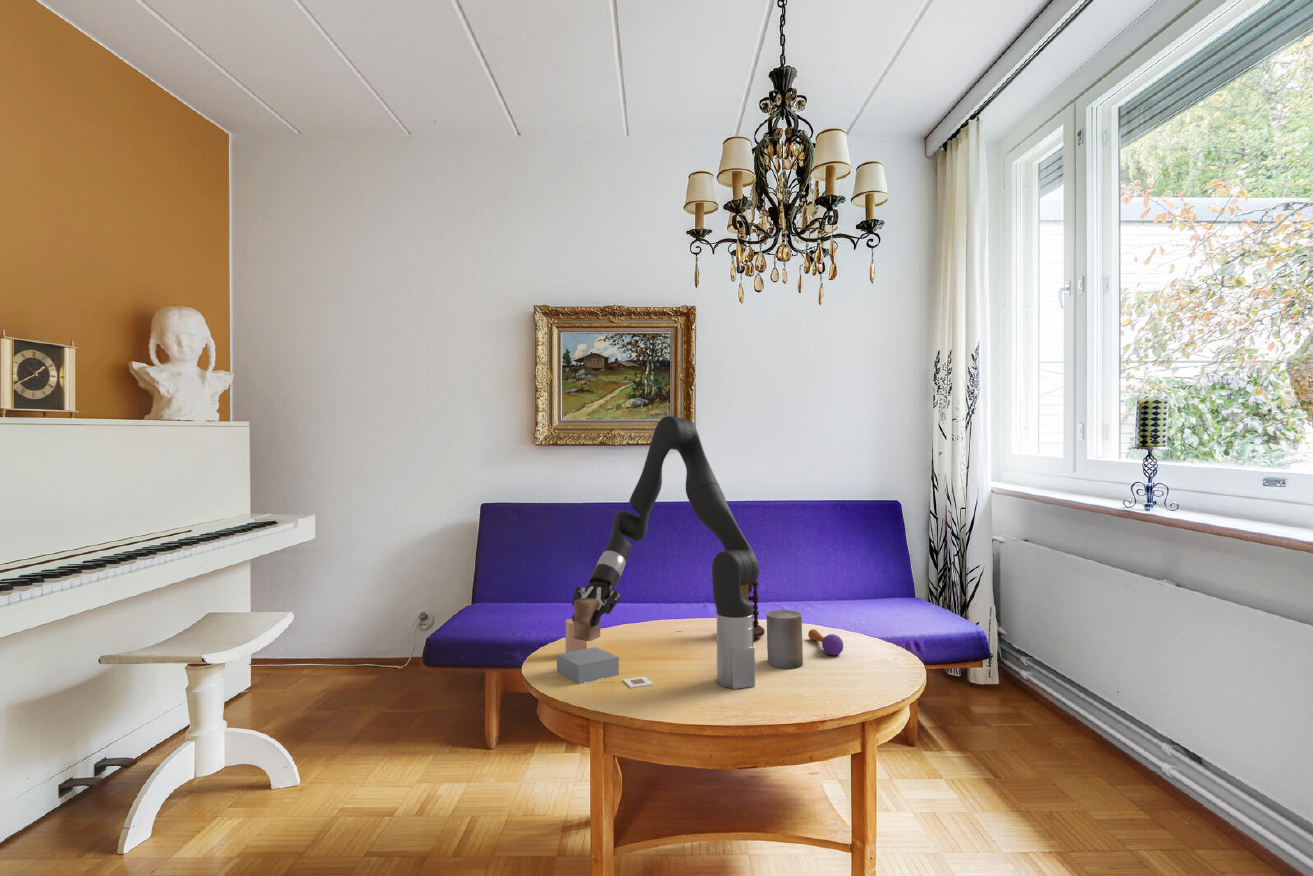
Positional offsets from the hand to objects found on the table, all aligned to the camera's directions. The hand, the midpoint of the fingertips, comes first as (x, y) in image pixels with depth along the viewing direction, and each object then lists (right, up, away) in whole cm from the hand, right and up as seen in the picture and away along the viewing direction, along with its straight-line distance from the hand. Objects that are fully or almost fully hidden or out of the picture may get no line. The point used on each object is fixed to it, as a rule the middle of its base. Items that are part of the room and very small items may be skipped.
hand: (583, 623), depth 170 cm
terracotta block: (-4, -14, +17) cm, 23 cm away
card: (+15, -13, -7) cm, 21 cm away
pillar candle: (+55, -14, +8) cm, 57 cm away
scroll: (+46, -15, +36) cm, 61 cm away
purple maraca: (+70, -15, +23) cm, 75 cm away
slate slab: (+1, -14, +1) cm, 14 cm away
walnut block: (+1, -4, +1) cm, 5 cm away
